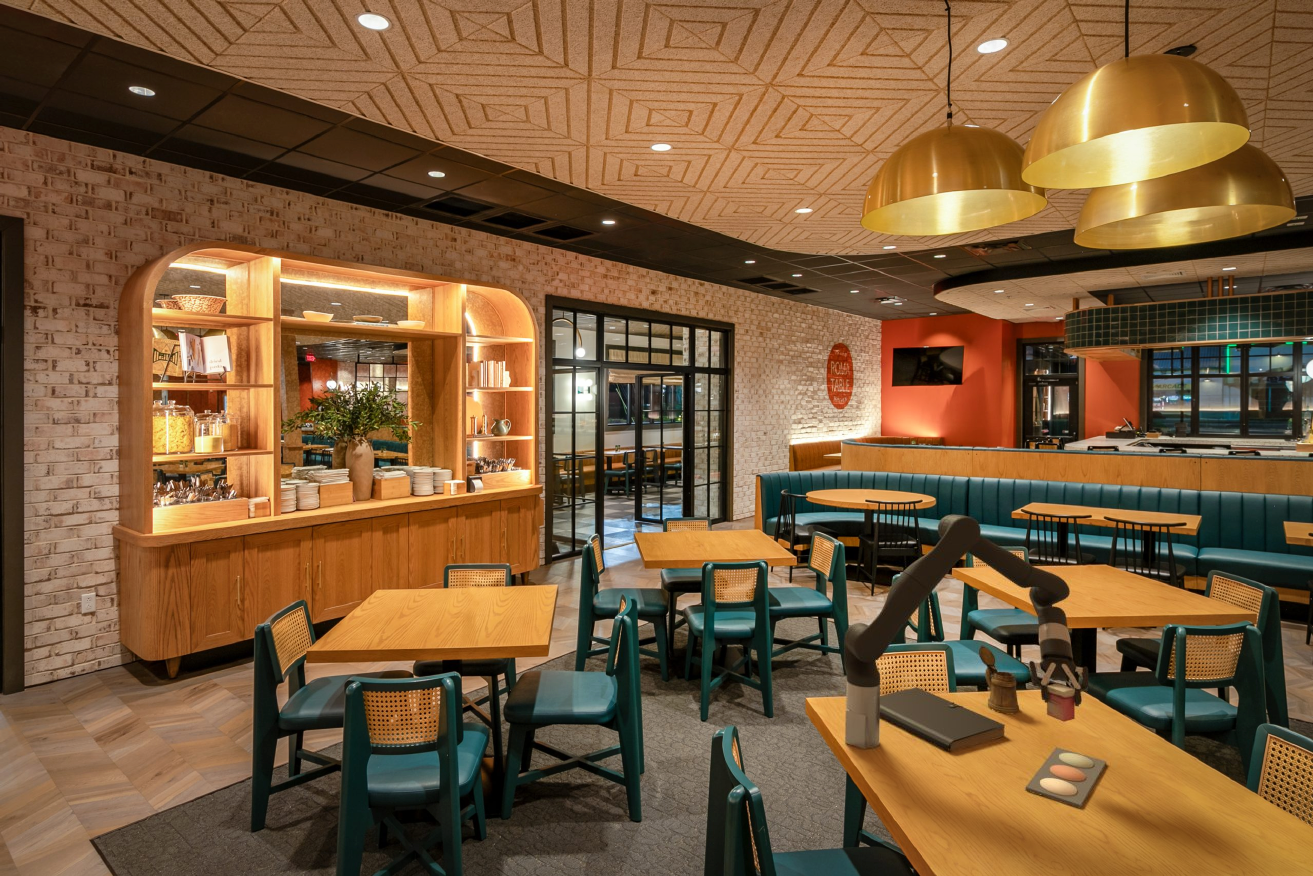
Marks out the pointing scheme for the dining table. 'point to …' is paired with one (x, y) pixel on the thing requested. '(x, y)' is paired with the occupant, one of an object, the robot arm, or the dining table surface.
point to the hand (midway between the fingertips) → (1062, 703)
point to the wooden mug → (999, 685)
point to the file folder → (938, 719)
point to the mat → (1067, 777)
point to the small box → (1061, 702)
